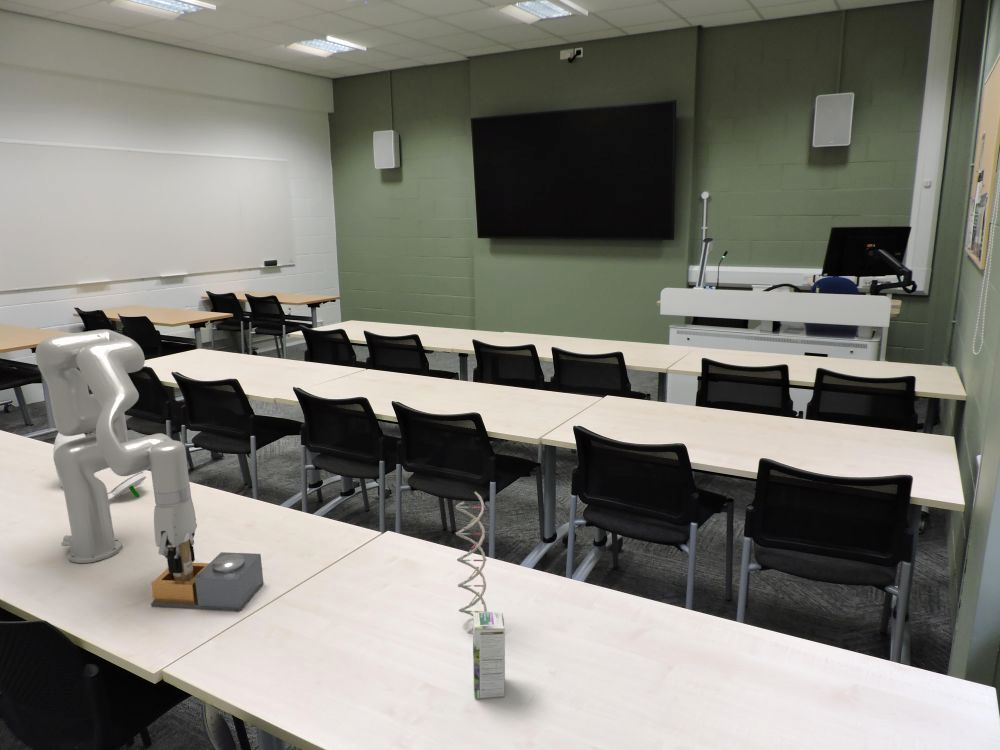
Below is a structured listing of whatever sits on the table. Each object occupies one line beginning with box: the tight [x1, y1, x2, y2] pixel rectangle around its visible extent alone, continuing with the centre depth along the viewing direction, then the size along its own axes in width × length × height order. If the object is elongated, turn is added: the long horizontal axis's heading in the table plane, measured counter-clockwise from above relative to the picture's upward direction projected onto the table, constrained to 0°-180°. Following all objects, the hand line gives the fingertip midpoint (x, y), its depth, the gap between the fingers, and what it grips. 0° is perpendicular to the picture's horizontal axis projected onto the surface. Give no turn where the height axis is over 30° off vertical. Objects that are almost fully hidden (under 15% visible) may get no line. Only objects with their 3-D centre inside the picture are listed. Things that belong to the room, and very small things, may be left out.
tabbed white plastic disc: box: [107, 471, 147, 501], centre depth 223 cm, size 15×8×11 cm
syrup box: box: [472, 611, 506, 700], centre depth 130 cm, size 6×6×14 cm
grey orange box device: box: [150, 551, 265, 612], centre depth 165 cm, size 22×15×9 cm
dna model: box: [454, 491, 488, 634], centre depth 148 cm, size 7×6×30 cm
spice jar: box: [170, 533, 194, 581], centre depth 164 cm, size 5×5×14 cm
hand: (182, 566), depth 164 cm, fingers closed on spice jar, 4 cm apart
